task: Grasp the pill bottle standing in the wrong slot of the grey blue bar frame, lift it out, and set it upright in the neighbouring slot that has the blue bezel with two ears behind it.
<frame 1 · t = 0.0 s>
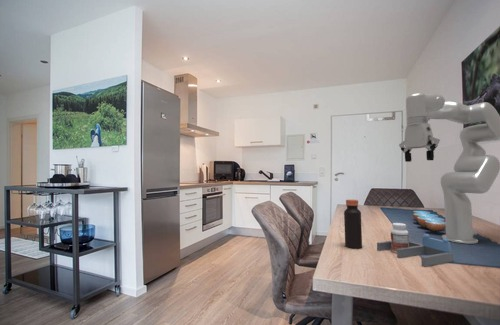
hand: (418, 160, 106), 37 cm above the table, tool pointing down, fingers open, 9 cm apart
vinegar: (353, 247, 104), on the table
pill bottle: (400, 252, 97), resting in grey blue bar frame
grey blue bar frame: (411, 255, 92), on the table
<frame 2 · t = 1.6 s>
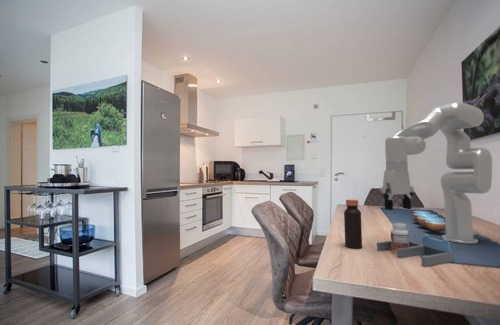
hand: (397, 209, 97), 17 cm above the table, tool pointing down, fingers open, 9 cm apart
nothing on the table moved.
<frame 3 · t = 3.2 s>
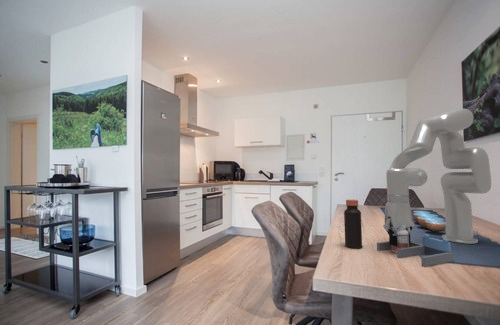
hand: (399, 243, 97), 3 cm above the table, tool pointing down, fingers closed on pill bottle, 6 cm apart
pill bottle: (400, 252, 97), resting in grey blue bar frame, touching gripper
everything else where it was.
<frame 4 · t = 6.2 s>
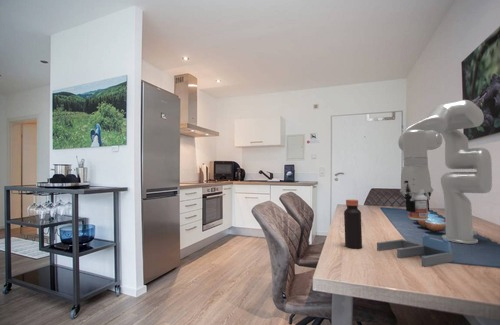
hand: (417, 210, 90), 18 cm above the table, tool pointing down, fingers closed on pill bottle, 6 cm apart
pill bottle: (418, 219, 90), point 14 cm above the table, touching gripper
everything else where it was.
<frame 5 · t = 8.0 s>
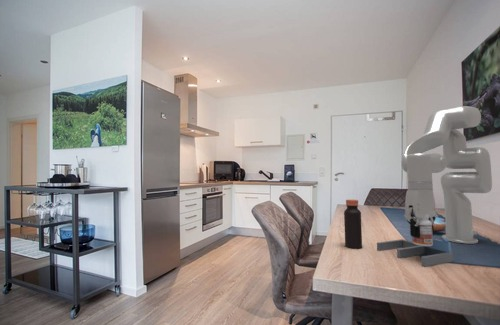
hand: (422, 235, 88), 9 cm above the table, tool pointing down, fingers closed on pill bottle, 6 cm apart
pill bottle: (422, 244, 88), point 5 cm above the table, touching gripper
everything else where it was.
when the fingers open (4 cm above the table, at t = 9.3 s): pill bottle drops 1 cm, resting in grey blue bar frame.
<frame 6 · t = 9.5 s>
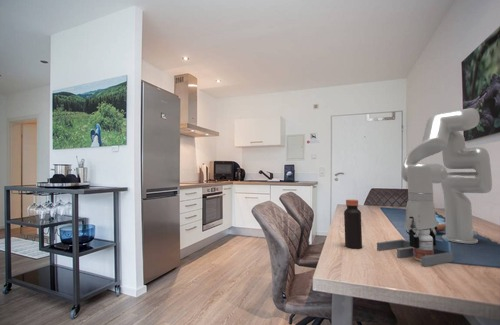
hand: (422, 245, 88), 5 cm above the table, tool pointing down, fingers open, 7 cm apart
pill bottle: (423, 259, 88), resting in grey blue bar frame
everything else where it was.
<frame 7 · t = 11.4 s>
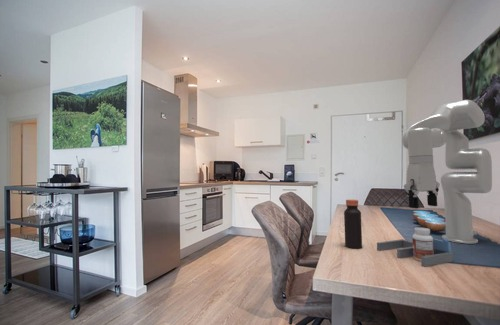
hand: (423, 206, 90), 19 cm above the table, tool pointing down, fingers open, 9 cm apart
nothing on the table moved.
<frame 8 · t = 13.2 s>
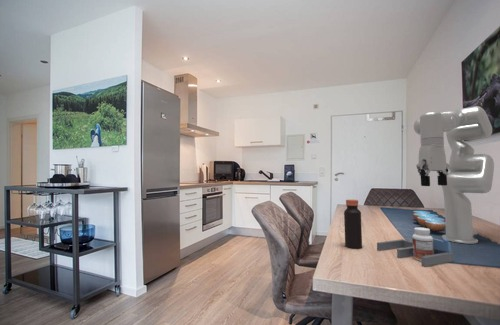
hand: (434, 185, 97), 26 cm above the table, tool pointing down, fingers open, 9 cm apart
nothing on the table moved.
at the end: pill bottle 0.1 cm from the target spot on the grey blue bar frame, point 0.0 cm above the grey blue bar frame's base; pill bottle tilted 0°; the gripper is holding nothing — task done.
